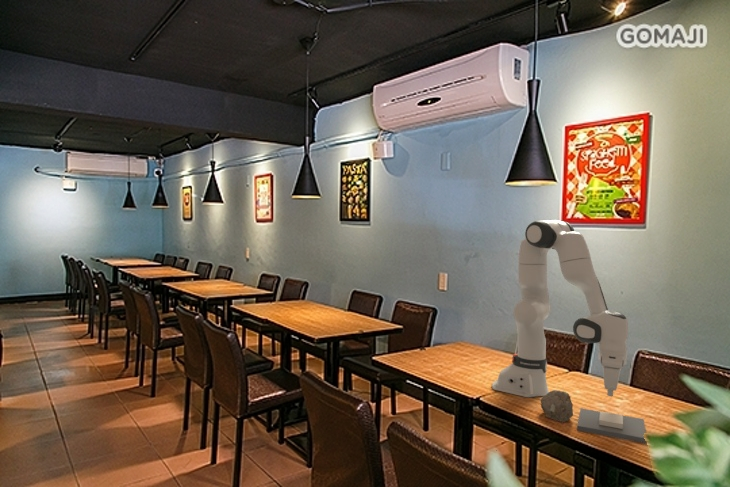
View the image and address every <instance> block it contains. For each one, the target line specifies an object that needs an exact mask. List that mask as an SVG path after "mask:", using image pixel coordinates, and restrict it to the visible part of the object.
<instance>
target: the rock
mask: <svg viewBox="0 0 730 487" xmlns="http://www.w3.org/2000/svg"><path fill="white" fill-rule="evenodd" d="M573 406H574V404H573V402H572V399H571V396H570V394H569V393H568V392H566V391H562V390H559V389H558V390H557V389H555V390H550V391H549V393H547V395H544V396H541V399H540V407H541V410H542V412H543V413H544V414H545V417H546V418H548V419H552V420H553V421H555V422H560V423H565V422H567V421H568V420H570V418H572V417H573V416H574V410H573V408H574V407H573Z"/></svg>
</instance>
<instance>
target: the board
mask: <svg viewBox="0 0 730 487" xmlns="http://www.w3.org/2000/svg"><path fill="white" fill-rule="evenodd" d="M599 418H600V411H599V410H593V409H586V408H580V410H579V415H578V418H577V424H576V431H578V432H585V433H589V434H593V435H598V436H599V435H600V436H605V437H609V438H616V439H620V440H626V441H631V442H637V443H642V444H647V441H645V439H644V436H643V435H644V433H646V434H647V432H646V426H645V419H644V418H640V417H634V416H627V415H623V429H620V428H614V427H609V426H603V425H599Z"/></svg>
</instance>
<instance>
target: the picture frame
mask: <svg viewBox="0 0 730 487" xmlns="http://www.w3.org/2000/svg"><path fill="white" fill-rule="evenodd" d="M599 412H600V418H599V425H603V426H609V427H614V428H620V429H623V416H624V415H623V414H619V413H613V412H606V411H599Z"/></svg>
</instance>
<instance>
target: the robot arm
mask: <svg viewBox="0 0 730 487" xmlns="http://www.w3.org/2000/svg"><path fill="white" fill-rule="evenodd" d="M524 235H525V238H524V239H523V240H522V241H521V242H520V246H519V252H518V284H519V287H520V292H521V300H519V301H518V302H517V303H516V304H515V307H514V308H513V314H512V315H513V319H514V320H515V327H516V333H517V353H514V354H513V355H512V358H511V363H510V365H508V366H506V367H505V368H503V369H502V370H500V372H499V373H498V377H497V379H496V380H494V381H493V383H492V385H491V388H492V389H493V390H495V391H498V392H503V393H507V394H511V395H515V396H518V397H519V396H520V397H525V398H533V397H544V396H545V395H547V393H549V392H550V391H549V388H548V382H547V368H548V360H547V357H546V354H547V351H546V350H547V346H546V345H547V338H546V336H545V335H546V334H545V330H544V328H545V327H544V320H546V319H547V318H549V315H550V314H551V304H550V296H549V295H550V294H549V290H548V281H547V280H548V279H547V278H548V276H547V274H548V273H547V272H548V267H547V266H548V262H547V261H548V260H547V259H548V252H549V251H550V250H551V249H552V250H555V251H556V253H557V256H558V262H559V266H560V270H561V273H562V276H563V278H564V280H565V281H566V282H568V283H569V284H572V285H573V286H576V287H577V288H578V289H579V290H580V291H582V293H583V295H584V296H585V300H586V304H587V306H588V309H589V312H590V313H589V314H590V315H588V316H584V317H581V318H578V319H576V320H575V322H574V323H573V325H572V332H573V335H574V336H575V338H576V339H577V340H578V341H579V342H581V343H585V344H597V345H598V358H597V359H598V361H599V362H600V364H601V367H602V372H603V373H602V375H603V385H604V386H603V387H604V389H605V390H607V393H606V394H607V397H611V398H612V397H614V391H617V389H618V384H619V378H620V373H621V370H622V369H623V367H624V366H625V365H626V364H627V358H628V357H627V355H628V351H627V350H628V348H627V341H628V338H629V336H628V335H629V330H628V329H629V327H628V319H627V316H625V315H624V314H623V313H621V312H619V311H615V310H609V308H608V305H607V302H606V299H605V295H604V293H603V290H602V287H601V284H600V281H599V279H598V277H597V275H596V273H595V269H594V267H593V261H592V258H591V254H590V250H589V248H588V247H589V246H588V244H587V242H586V239H585V237H584V235H582V234H581V233H580V232H577V231H575V229H574V226H573V225H571V224H570V223H569V222H567V221H564V220H561V219H560V220H558V219H546V220H545V219H544V220H539V219H538V220H536V221H535V220H534V221H533V222H531V223H529V225H527V226H526V229H525V233H524Z"/></svg>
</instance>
